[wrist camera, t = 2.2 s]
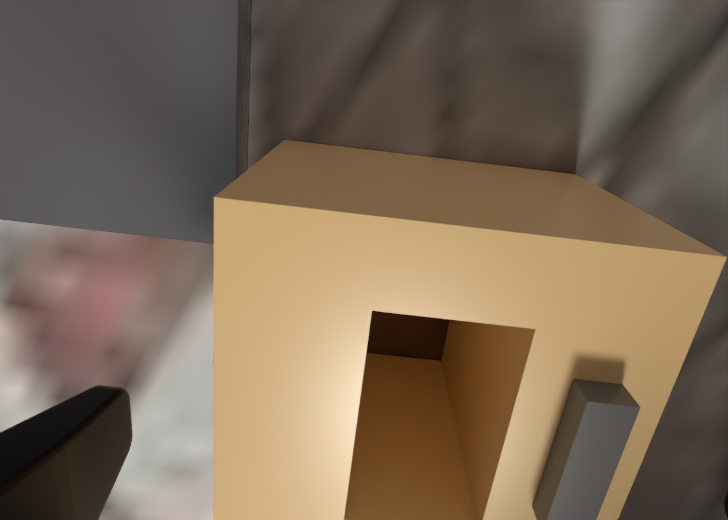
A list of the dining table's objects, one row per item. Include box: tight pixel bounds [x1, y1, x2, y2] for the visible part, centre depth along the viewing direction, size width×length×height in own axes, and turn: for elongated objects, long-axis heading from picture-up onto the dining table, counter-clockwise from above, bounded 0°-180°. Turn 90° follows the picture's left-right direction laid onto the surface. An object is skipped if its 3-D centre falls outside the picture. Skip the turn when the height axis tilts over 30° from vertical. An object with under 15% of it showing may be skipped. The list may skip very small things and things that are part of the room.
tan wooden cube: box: [214, 140, 727, 520], centre depth 9 cm, size 6×6×6 cm
